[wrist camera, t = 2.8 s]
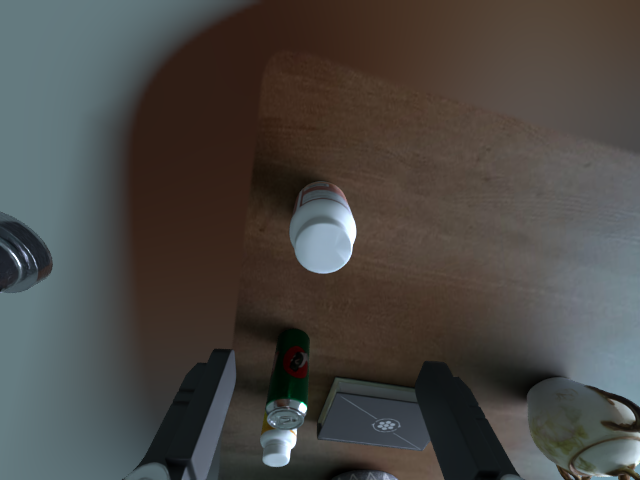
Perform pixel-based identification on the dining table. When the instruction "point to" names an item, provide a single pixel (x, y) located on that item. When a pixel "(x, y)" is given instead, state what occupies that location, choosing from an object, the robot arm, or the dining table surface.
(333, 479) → the planter
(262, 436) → the supplement bottle
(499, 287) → the dining table surface
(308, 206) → the pill bottle
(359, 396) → the book
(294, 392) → the soda can
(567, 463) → the sugar bowl
